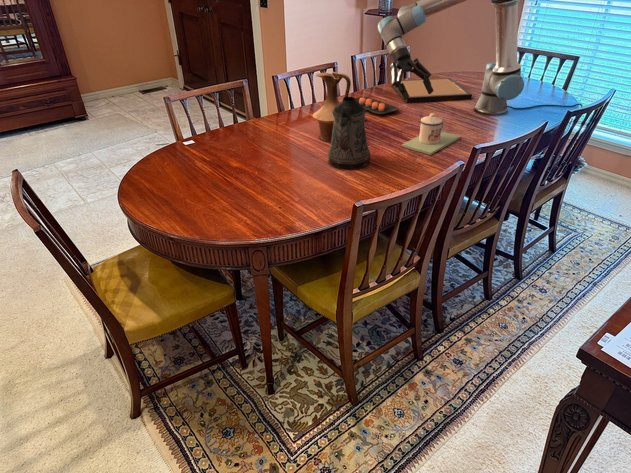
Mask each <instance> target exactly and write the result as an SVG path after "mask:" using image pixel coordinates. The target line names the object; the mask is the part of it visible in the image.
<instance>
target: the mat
mask: <svg viewBox="0 0 631 473" xmlns="http://www.w3.org/2000/svg"><path fill="white" fill-rule="evenodd" d="M460 139H461V135H458V134H454V133H450V132H446V131H443V130H442V131H441V135H440V141H439V142H438V143H437V144H424V143H421V142H420V141H419V135H417V136H416V137H413V138H411V139H409V140H407V141H405V142H404V143H402V144H401V147H402V148H405V149H409V150H412V151H414V152H418V153H422V154H425V155H429V156H431V155H434V154H435V153H436V152H439V151H440V150H442V149H444V148H446V147H447V146H450V145H451V144H453V143H455V142H456V141H458V140H460Z"/></svg>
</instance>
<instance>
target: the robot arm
mask: <svg viewBox="0 0 631 473" xmlns="http://www.w3.org/2000/svg"><path fill="white" fill-rule="evenodd" d="M466 1H467V0H418V1H416V2H413V3H411V4H409V5H408V4H407V5H403V6H401V7H400V8H399V9H398V11H397V12H398V13H397V17H396V18H394V17H393V16H391V15H388V16H387V17H386V16H385V17H383V18H382V19H381V20H380V21H378V23H377V30H378V33H379V34H380V38H381V39H382V41H383V43H384V46H385V47H386V49H387V51H388V54H389V56H390V57H391V60H392V63H391V64H390V66H389V67H390V70H391V73H390V74H391V75H390V76H391V86H394V85H395V87H396V88H397V87H398V89H399V92H400V93H401V94H402V96H403V98H404V99H403V98H402V99H403V100H404V101H405V100H406V99H407V98H408V97H409V94H408V92H407V90H406V88H405V86H404V84H403V83H401V81H402V80H403V76H404V74H405V73H412V74H414V75H415V76H417V77H418V78H420V79H423V80H424V81H423V83H424V85H425V88H426V90H427V92H428V94H431V93H432V92H433V91H434V90H433V88H432V86H431V82H430V80H429V79H430V77H431V76H432V73H431V72H430V71H429V70H428V69H427V68H426V67H425V66H424V65H423V64H422V63H421V62H420V60H419V58H417V57H414V59H412V58H411V52H410V50H409V48H408V47H407V44H406V43H405V40H404V38H403V36H404V35H406V34H408V33H409V32H411V31H413V30H415V29H417V28H418V27H421V26H422V25H423V24H425V23H426V22H427V18H428V17H430V16H433V15H435V14H437V13H439V12H443V11H444V10H447V9H450V8H451V7H454V6H456V5H459V4H461V3H464V2H466ZM490 1H491V2H490V3H491V5H492V6H493V7H494V8H495V11H494V13H495V16H494V17H495V62H493V61H492V62H488V63H487V64H486V66H485V70H484V74H483V75H484V76H483V82H482V87H481V93H480V96H479V97H478V100H477V102H476V103H475V105H474V111H475V113H478V114H481V115H484V116H493V117H494V116H495V117H496V116H503V115H506V114H507V112H508V108H509V109H512V110H530V109H534V108H539V107H540V108H541V107H558V108H574V107H577V106H580V107H584V105H583V104H582V103H576V104H573V105H564V104H537V105H533V106H526V107H513V106H511V105H508V101H512V100H514V99H517V97H518V96H519V95H521V93H522V92H523V91H524V88H525V81H524V78H523V76H522V65H521V64H520V63H519V62H518V36H519V35H518V32H519V31H518V27H519V25H518V24H519V23H518V22H519V18H518V17H519V12H518V11H519V2H520V1H521V0H490Z"/></svg>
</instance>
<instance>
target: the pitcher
mask: <svg viewBox="0 0 631 473" xmlns="http://www.w3.org/2000/svg"><path fill="white" fill-rule="evenodd" d="M315 77H319V78H321V79H322V80H323V81H324V83H325V85H326V98H325V101H324V102H323V105H322V106H321V107H320V108H319V109H317V111H315V112H314V113H313V114H312V118H313V119H314V120H317V123H318V128H319V135H320V136H319V138H320V139H321V140H322V141H323V142H331V140H332V131H333V124H334V117H333V114H332V111H333V109H334V108H335V107H336V106H337V105H338V104H339V103H340V101H339V99H338V96H337V86H338V84H339V83H340V82H341V80H342V79H344V80H345V81H346V86H345V93H344V97H349V94H350V91H351V85H352V84H351V83H352V82H351V78H350V77H349V75H348V74H346V73H340V72H336V71H332V73H329V72H320V73H316V74H315ZM344 97H343V98H344Z"/></svg>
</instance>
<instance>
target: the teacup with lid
mask: <svg viewBox="0 0 631 473" xmlns="http://www.w3.org/2000/svg"><path fill="white" fill-rule="evenodd" d="M419 122H420V126H419V134H418V136H419V141H420V142H421V143H424V144H437V143H438V142H439V141H440V135H441V131H442V132H443V130H444V128H445V123H444V121H443V118H441V117H438V116H436V114H435V113H432V112H431V113H430V114H429V115H427V116H424V117H421V119H420V120H419Z"/></svg>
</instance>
